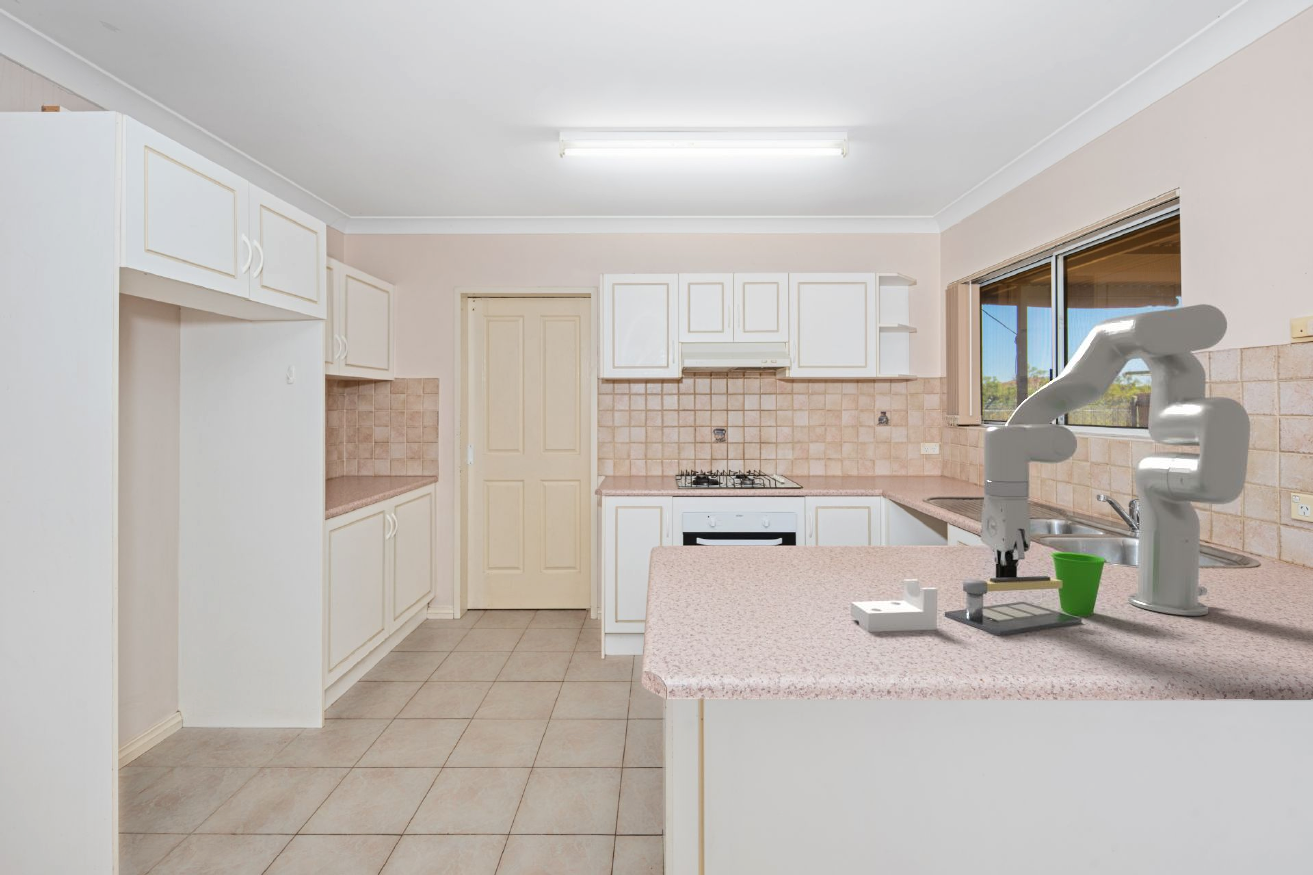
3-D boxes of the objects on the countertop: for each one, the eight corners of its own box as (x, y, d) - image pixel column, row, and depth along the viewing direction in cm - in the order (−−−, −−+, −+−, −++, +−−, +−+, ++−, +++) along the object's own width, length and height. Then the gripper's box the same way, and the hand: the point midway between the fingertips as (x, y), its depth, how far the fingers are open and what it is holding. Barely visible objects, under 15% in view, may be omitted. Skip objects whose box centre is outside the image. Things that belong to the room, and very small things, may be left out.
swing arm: (972, 594, 113) (972, 582, 113) (958, 588, 117) (958, 577, 117) (1065, 590, 117) (1065, 578, 117) (1048, 585, 121) (1048, 573, 121)
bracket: (915, 618, 119) (915, 579, 119) (936, 630, 112) (937, 588, 112) (850, 620, 117) (851, 580, 117) (868, 633, 110) (868, 590, 110)
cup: (1114, 620, 118) (1116, 563, 117) (1061, 617, 119) (1062, 560, 119) (1091, 607, 126) (1092, 553, 126) (1042, 604, 128) (1043, 551, 128)
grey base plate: (1022, 605, 127) (1023, 578, 127) (1081, 623, 116) (1082, 593, 116) (944, 616, 120) (945, 587, 119) (999, 636, 108) (1000, 604, 108)
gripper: (968, 486, 127) (968, 575, 128) (1007, 494, 112) (1006, 595, 113) (1005, 485, 127) (1005, 575, 127) (1049, 494, 112) (1049, 595, 112)
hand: (1006, 584), depth 120 cm, fingers closed
